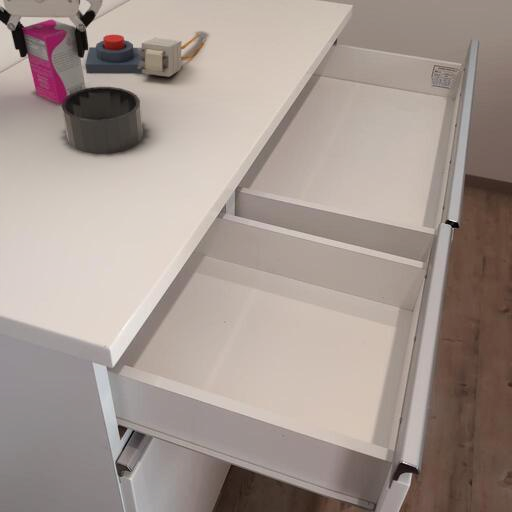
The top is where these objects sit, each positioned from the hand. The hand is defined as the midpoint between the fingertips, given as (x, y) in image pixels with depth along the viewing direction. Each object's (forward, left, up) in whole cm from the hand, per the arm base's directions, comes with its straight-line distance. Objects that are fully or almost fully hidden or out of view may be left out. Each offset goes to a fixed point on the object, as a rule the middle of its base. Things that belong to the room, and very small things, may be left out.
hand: (53, 53), depth 84 cm
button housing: (+8, +14, -7) cm, 18 cm away
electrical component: (+19, +17, -8) cm, 27 cm away
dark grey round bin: (+8, -14, -7) cm, 18 cm away
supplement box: (0, 0, -8) cm, 8 cm away
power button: (+8, +14, -4) cm, 17 cm away
